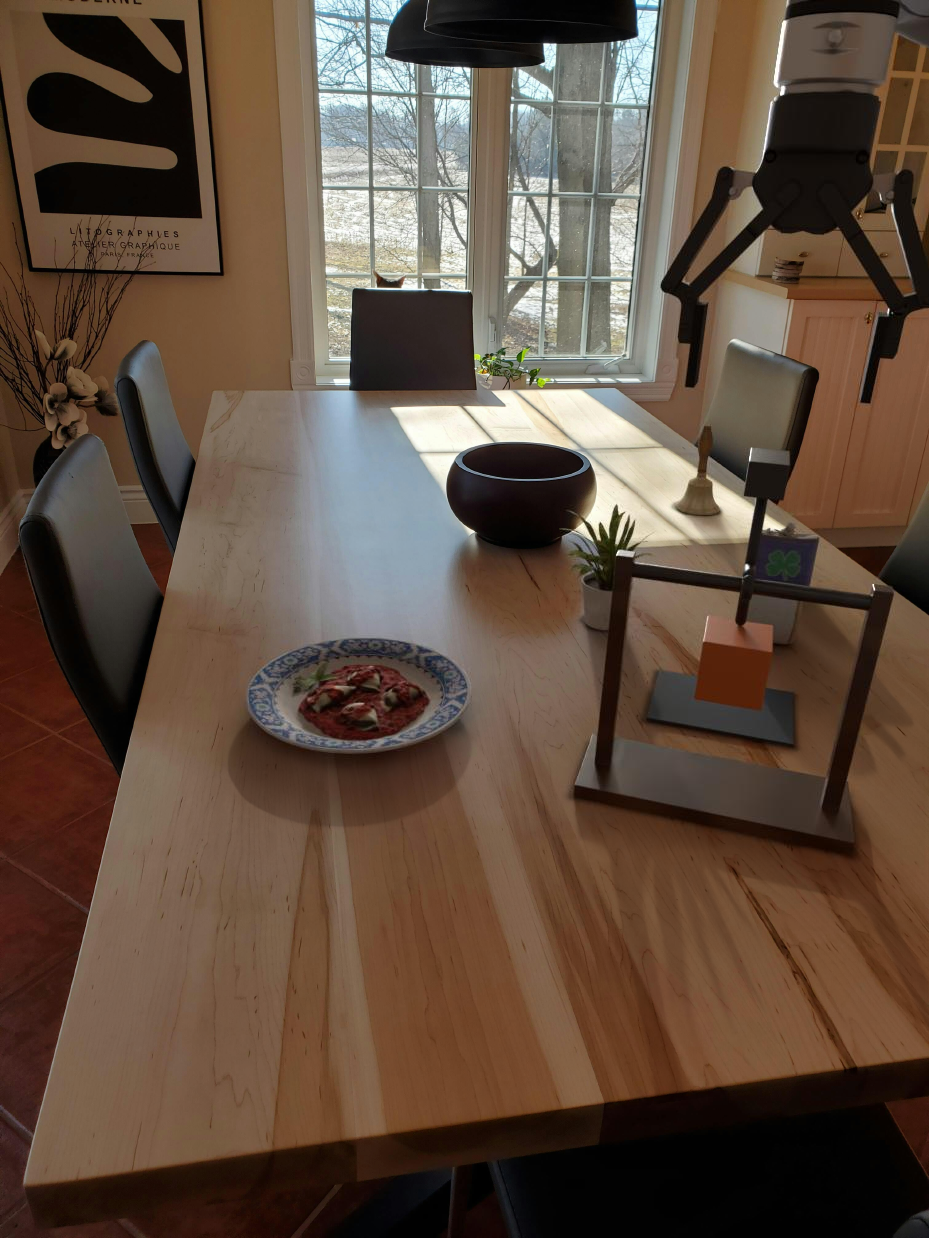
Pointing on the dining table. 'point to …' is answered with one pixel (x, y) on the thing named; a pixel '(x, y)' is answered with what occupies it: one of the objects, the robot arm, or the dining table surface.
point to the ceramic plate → (358, 695)
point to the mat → (721, 711)
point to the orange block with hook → (744, 606)
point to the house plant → (601, 581)
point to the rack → (720, 784)
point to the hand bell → (700, 482)
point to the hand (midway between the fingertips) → (775, 392)
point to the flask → (786, 556)
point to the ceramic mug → (776, 616)
